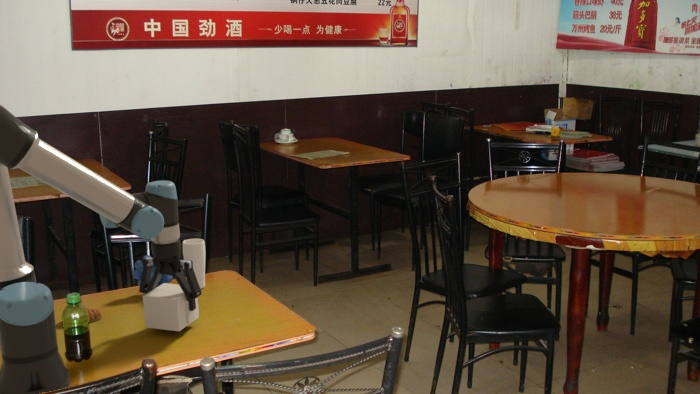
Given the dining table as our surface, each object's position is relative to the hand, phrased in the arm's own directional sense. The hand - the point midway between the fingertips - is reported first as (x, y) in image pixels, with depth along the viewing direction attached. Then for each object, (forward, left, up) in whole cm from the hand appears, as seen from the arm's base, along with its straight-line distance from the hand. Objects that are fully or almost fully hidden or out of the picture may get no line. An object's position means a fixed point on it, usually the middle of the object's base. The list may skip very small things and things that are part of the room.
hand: (172, 319), depth 201 cm
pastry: (-1, +28, -3) cm, 28 cm away
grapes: (+23, +20, -3) cm, 31 cm away
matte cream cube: (0, 0, -1) cm, 1 cm away
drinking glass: (+31, +10, -3) cm, 33 cm away
